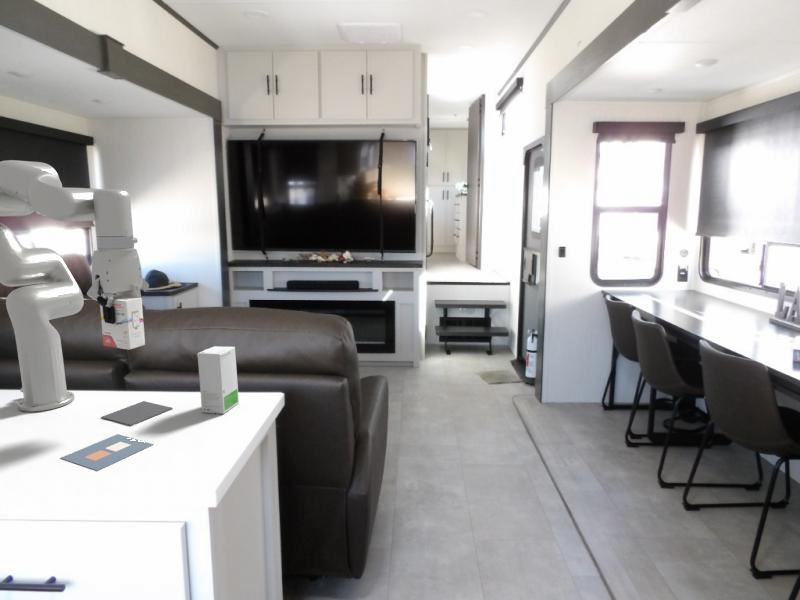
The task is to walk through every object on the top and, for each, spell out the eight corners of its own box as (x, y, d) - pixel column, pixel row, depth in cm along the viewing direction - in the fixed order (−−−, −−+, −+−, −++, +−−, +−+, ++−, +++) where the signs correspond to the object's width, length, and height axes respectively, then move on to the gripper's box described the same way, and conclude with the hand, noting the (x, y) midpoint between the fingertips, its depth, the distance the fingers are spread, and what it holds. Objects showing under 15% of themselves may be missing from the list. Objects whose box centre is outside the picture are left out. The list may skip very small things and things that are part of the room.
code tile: (60, 458, 110) (60, 457, 110) (117, 434, 122) (117, 433, 122) (97, 470, 105) (97, 470, 105) (153, 444, 116) (153, 444, 116)
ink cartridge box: (102, 346, 126) (96, 285, 124) (119, 341, 131) (114, 282, 128) (129, 350, 123) (124, 287, 121) (146, 345, 128) (141, 284, 125)
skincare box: (223, 415, 133) (219, 354, 130) (199, 413, 134) (195, 353, 131) (240, 402, 141) (236, 345, 138) (217, 401, 142) (213, 344, 139)
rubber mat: (101, 418, 131) (101, 416, 131) (143, 402, 142) (143, 401, 142) (131, 426, 126) (130, 424, 126) (172, 408, 137) (172, 407, 137)
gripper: (138, 240, 132) (143, 312, 135) (68, 245, 117) (76, 325, 120) (158, 242, 128) (163, 315, 132) (89, 247, 114) (97, 329, 117)
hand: (122, 319), depth 126 cm, fingers closed on ink cartridge box, 5 cm apart
